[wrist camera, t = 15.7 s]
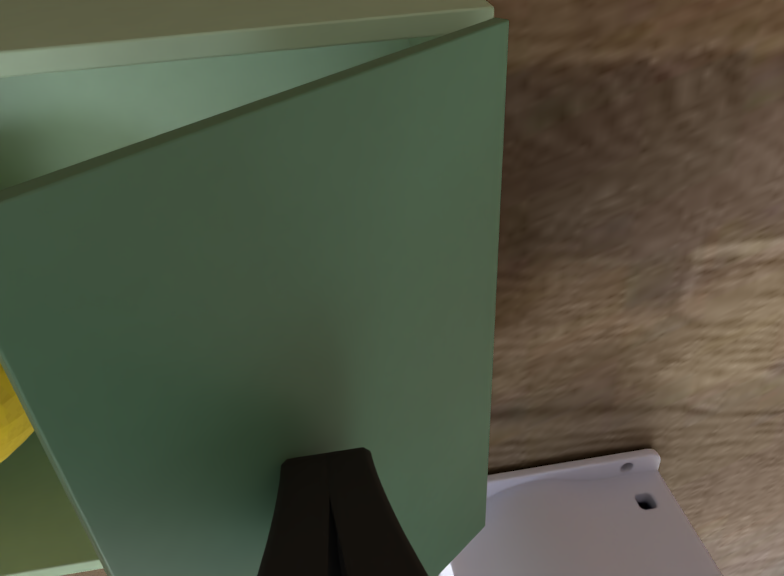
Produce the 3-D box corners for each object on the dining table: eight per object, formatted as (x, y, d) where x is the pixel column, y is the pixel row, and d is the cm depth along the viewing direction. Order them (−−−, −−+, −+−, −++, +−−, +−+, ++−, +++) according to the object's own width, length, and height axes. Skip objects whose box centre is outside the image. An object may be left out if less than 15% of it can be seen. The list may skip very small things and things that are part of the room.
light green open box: (419, -52, 16) (495, 5, 11) (429, 354, 24) (477, 505, 18) (-350, 11, 14) (-693, 114, 9) (-82, 429, 22) (-189, 618, 17)
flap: (494, 16, 11) (510, 19, 10) (476, 519, 18) (485, 526, 18) (-76, 214, 6) (-64, 224, 6) (214, 789, 13) (223, 801, 13)
